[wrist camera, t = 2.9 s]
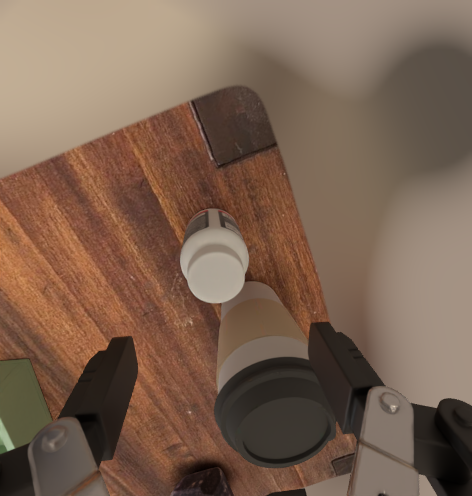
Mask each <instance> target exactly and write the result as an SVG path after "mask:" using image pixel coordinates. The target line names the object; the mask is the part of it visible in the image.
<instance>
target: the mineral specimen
mask: <svg viewBox="0 0 472 496" xmlns="http://www.w3.org/2000/svg"><path fill="white" fill-rule="evenodd" d="M170 496H234V495H233V493H232V490H231V488H230V486H229V484H228V482H227V479H226V477H225V475H224V473H223V471H222V470H221V469H220V468H219V467H215V468H211V469H207V470H204V471H200V472H196V473H193V474H189V475H186V476H185V477H184V478H182V479H181V480H180V481H179V483H178V484H177V485H176V487H175V488H174V490H173V491H172V493H171V495H170Z"/></svg>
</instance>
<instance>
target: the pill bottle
mask: <svg viewBox="0 0 472 496" xmlns="http://www.w3.org/2000/svg"><path fill="white" fill-rule="evenodd" d="M180 264H181V269H182V272H183V274H184V276H185V277H186V279H187V282H188V286H189V288H190V290H191V292H192V293H193V294H194V295H195V296H196V297H197V298H199V299H200V300H202V301H205V302H208V303H223V302H226V301H228V300H230V299H232V298H234V297H235V296H236V295H237V294H238V293H239V292H240V291H241V289H242V287H243V285H244V281H245V273H246V271H247V268H248V264H249V255H248V250H247V247H246V244H245V242H244V239H243V237H242V235H241V232H240V229H239V227H238V225H237V223H236V221H235V219H234V218H233V217H232V216H231V215H230V214H228V213H227V212H225V211H223V210H220V209H215V208H214V209H205V210H202V211H200V212H198V213H197V214H195V215H194V216H193V217H192V218H191V220H190V221H189V223H188V225H187V228H186V231H185V236H184V241H183V245H182V250H181V256H180Z"/></svg>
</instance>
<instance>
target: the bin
mask: <svg viewBox="0 0 472 496" xmlns="http://www.w3.org/2000/svg"><path fill="white" fill-rule="evenodd" d="M51 422H53V420H52V418H51V415H50V413H49V410H48V407H47V405H46V402H45V399H44V397H43V394H42V391H41V389H40V386H39V383H38V381H37V378H36V376H35V373H34V370H33V368H32V365H31V362H30V360H29V359H18V360H6V361H0V454H2V453H4V452H7V451H10V450H12V449H15V448H18V447H20V446H23V445H25V444H28V443H30V442H31V441H32V439H33V438H34V436H35V435H36V434H37V433H38V432H39V431H40V430H41V429H42V428H43V427H45V426H46V425H47V424H49V423H51Z"/></svg>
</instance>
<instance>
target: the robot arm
mask: <svg viewBox="0 0 472 496" xmlns="http://www.w3.org/2000/svg"><path fill="white" fill-rule="evenodd" d="M308 358H309V361H310V364H311V366H312V368H313V371H314V373H315V375H316V377H317V379H318V381H319V383H320V385H321V388H322V390H323V392H324V394H325V396H326V398H327V400H328V403H329V405H330V407H331V409H332V411H333V413H334V415H335V418H336V420H337V422H338V424H339V426H340V428H341V430H342V432H343V434H350V433H354V435H355V437H356V439H357V444H356V449H355V454H354V459H353V465H352V470H351V475H350V481H349V486H348V491H347V496H419V474H421V475H425V476H426V477H427V479H428V481H429V482H430V484H431V486H432V487H433V489H434V491H435V492H436V494H437V496H472V406H471V405H469V404H467V403H465V402H463V401H460V400H457V399H451V398H448V399H443V400H441V401H440V402H439V405H438V407H437V408H433V407H428V406H422V405H417V404H413V403H410V402H409V401H408V400H407V399H406V397H404V396H403V395H402V394H401V393H399V392H398V391H396V390H394V389H392V388H389V387H386V386H385V385H384V383H383V382H382V381H381V379H380V378H379V377H378V375H377V374H376V372H375V371H374V370H373V368H372V367H371V366H370V364H369V363H368V362H367V361H366V359H365V358H364V357H363V355H362V353H361V352H360V351H359V350H358V348H357V347H356V345H355V344H354V343H353V341H352V340H351V339H350V338H349V337H347V336H346V335H344V334H343V333H341V332H337V333H336V332H335V330H334V329H333V327H332V326H331V324H330V323H329V322H317V323H311V325H310V332H309V342H308ZM137 374H138V363H137V357H136V352H135V347H134V342H133V338H132V336H126V337H113V338H112V339H111V341H110V343H109V345H108V347H107V349H106V350H105V351H99V352H98V353H97V354H95V355H94V356H93V357H92V358H91V359H90V360H89V362H88V363H87V365H86V367H85V369H84V371H83V374H81V376H80V378H79V380H78V383H77V384H76V385H75V387H74V389H73V391H72V393H71V395H70V396H69V398H68V400H67V402H66V404H65V406H64V407H63V409H62V411H61V413H60V415H59V417H58V418H57V420H54V421H53V422H51V423H49V424H47V425H46V426H45V427H43V428H42V429H41V430H40V431H39V432H38V433H37V434H36V435H35V436H34V438H33V439H32V441H31V442H30V443H28V444H25V445H23V446H20V447H18V448H15V449H12V450H10V451H7V452H4V453H2V454H0V496H110V494H109V492H108V489H107V487H106V484H105V482H104V479H103V477H102V475H101V472H100V471H99V470H98V469H99V466H100V463H101V461H105V460H112V459H113V455H114V452H115V449H116V446H117V442H118V439H119V436H120V432H121V429H122V426H123V422H124V419H125V416H126V412H127V409H128V406H129V402H130V399H131V396H132V392H133V389H134V386H135V382H136V379H137ZM267 496H307V495H306V491H305V489H297V490H289V491H281V492H274V493H271V494H269V495H267Z"/></svg>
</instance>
